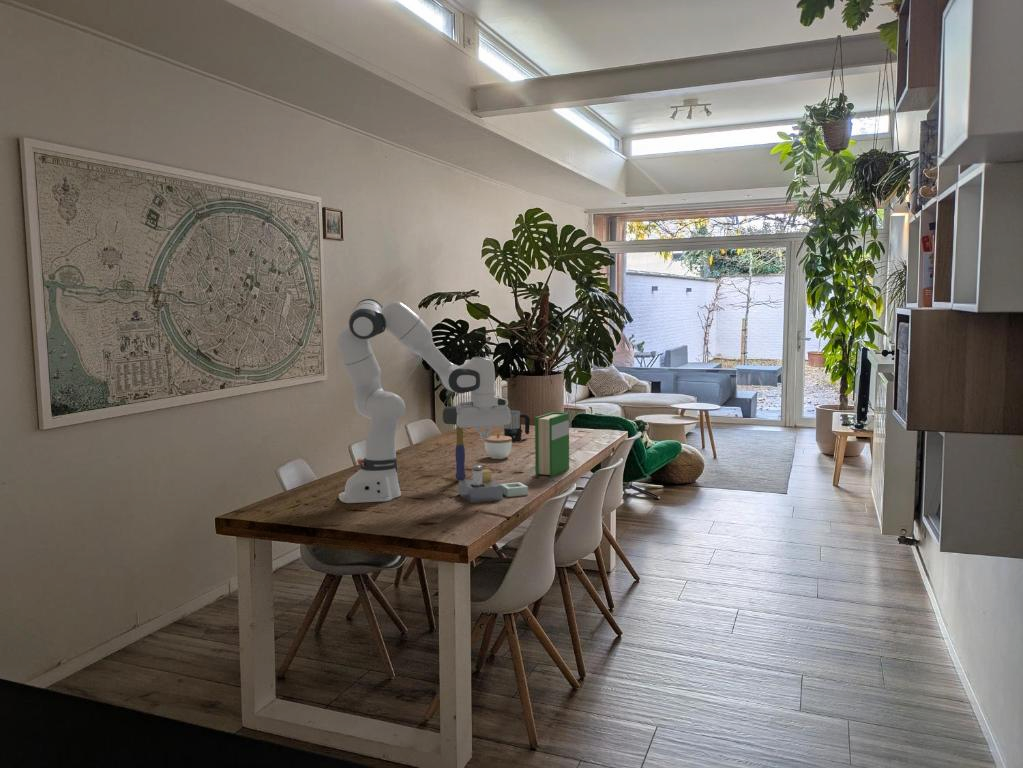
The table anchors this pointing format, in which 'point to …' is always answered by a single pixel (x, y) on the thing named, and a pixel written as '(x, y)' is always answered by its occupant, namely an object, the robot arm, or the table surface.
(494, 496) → the socket block
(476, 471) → the metal cylindrical peg
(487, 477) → the gold rectangular block
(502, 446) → the lidded bowl
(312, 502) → the table surface
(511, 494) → the pale green square frame
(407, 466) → the table surface
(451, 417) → the rubber mallet
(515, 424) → the milk frother
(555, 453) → the hardback book
